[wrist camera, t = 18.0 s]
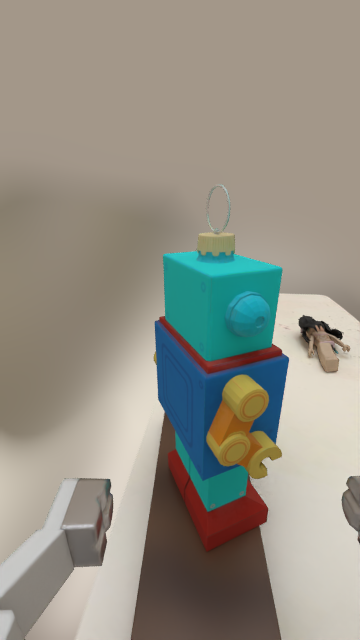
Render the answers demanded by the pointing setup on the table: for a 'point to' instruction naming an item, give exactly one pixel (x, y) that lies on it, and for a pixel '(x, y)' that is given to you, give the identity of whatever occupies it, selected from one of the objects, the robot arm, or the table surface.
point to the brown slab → (198, 574)
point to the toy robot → (220, 380)
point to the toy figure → (322, 341)
